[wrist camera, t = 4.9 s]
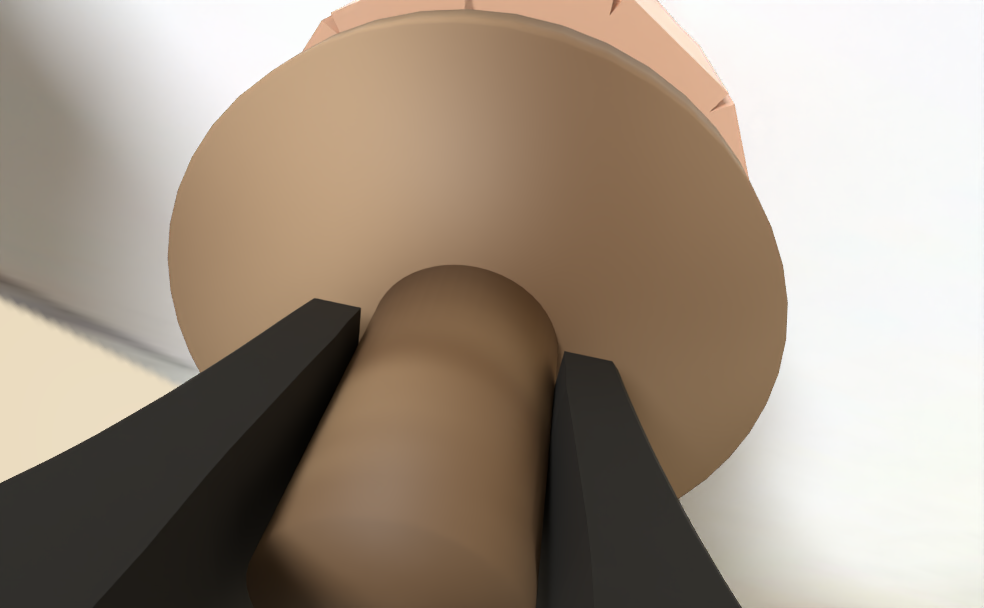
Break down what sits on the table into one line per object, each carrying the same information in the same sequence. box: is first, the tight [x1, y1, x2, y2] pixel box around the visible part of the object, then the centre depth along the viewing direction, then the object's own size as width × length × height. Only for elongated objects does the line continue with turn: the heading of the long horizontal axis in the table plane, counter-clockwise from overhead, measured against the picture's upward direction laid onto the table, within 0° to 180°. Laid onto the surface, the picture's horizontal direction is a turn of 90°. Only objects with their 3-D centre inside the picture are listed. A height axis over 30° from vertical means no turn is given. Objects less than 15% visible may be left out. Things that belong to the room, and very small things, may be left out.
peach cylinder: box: [302, 0, 749, 179], centre depth 14 cm, size 9×9×4 cm
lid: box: [168, 9, 788, 608], centre depth 8 cm, size 8×8×5 cm
